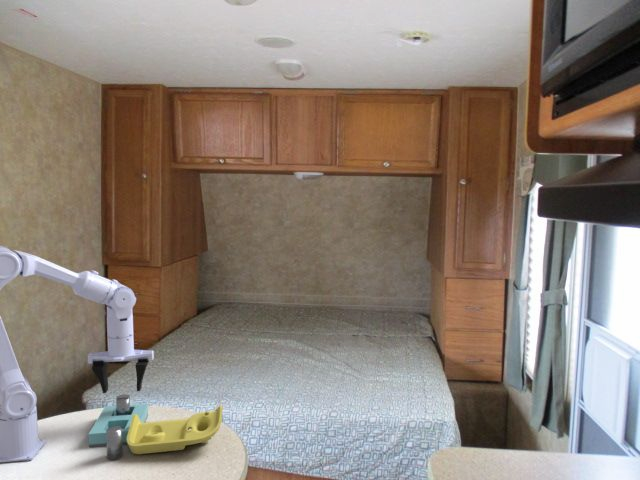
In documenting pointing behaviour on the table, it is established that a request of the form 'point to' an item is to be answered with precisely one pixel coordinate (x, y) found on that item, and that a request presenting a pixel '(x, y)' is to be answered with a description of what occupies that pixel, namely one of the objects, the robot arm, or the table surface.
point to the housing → (115, 423)
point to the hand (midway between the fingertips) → (122, 390)
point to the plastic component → (172, 432)
